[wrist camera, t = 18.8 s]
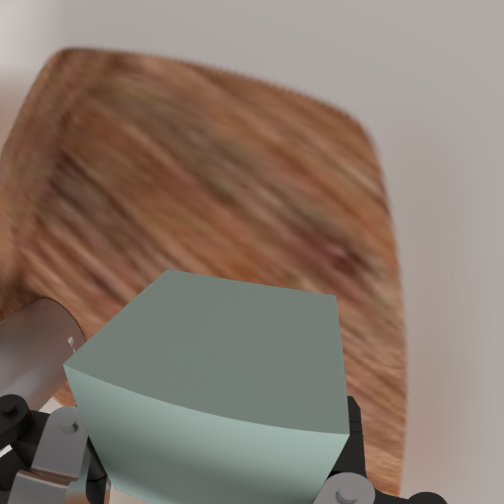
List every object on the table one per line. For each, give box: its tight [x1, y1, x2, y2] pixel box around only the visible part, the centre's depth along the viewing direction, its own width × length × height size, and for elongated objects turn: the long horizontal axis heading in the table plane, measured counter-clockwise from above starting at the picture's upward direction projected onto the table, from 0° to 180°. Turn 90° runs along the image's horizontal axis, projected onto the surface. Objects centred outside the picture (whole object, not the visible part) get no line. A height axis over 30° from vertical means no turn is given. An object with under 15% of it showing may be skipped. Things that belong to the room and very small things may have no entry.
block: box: [63, 269, 350, 504], centre depth 7 cm, size 5×5×5 cm
